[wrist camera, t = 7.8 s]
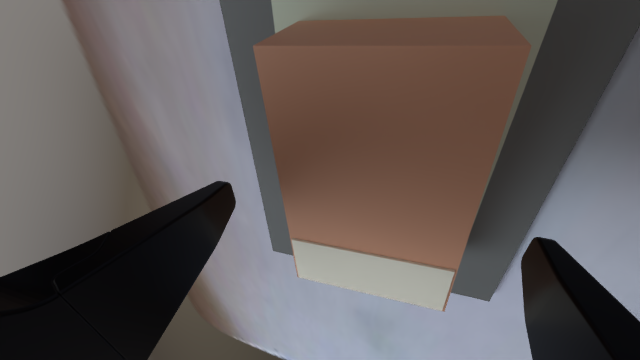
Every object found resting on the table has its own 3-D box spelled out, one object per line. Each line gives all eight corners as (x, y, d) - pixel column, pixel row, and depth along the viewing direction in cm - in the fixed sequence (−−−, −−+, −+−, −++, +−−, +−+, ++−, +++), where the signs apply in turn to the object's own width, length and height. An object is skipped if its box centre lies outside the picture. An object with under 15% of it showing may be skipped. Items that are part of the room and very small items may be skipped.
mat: (487, 291, 16) (489, 303, 15) (277, 243, 19) (272, 252, 18) (728, -172, 6) (755, -183, 5) (207, -107, 9) (193, -110, 9)
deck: (298, 21, 10) (250, 46, 7) (504, 15, 8) (533, 47, 6) (319, 225, 16) (297, 279, 13) (443, 247, 14) (444, 313, 11)
